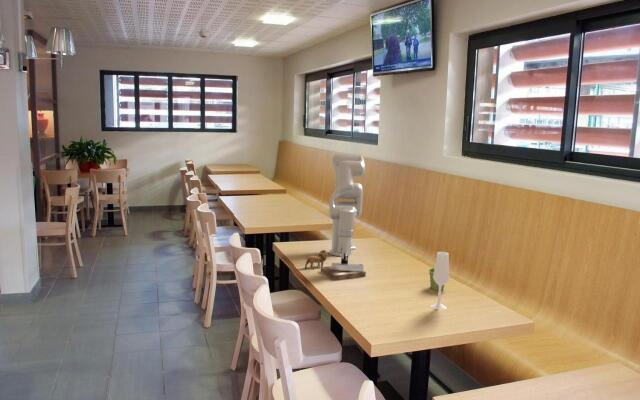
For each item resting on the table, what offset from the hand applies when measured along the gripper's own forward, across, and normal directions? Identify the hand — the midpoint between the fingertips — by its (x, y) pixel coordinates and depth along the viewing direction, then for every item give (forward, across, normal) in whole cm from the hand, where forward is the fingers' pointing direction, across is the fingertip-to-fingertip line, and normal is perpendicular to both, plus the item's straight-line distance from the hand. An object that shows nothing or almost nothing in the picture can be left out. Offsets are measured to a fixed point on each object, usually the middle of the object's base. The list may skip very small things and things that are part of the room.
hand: (344, 267), depth 262 cm
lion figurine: (+4, -4, -16) cm, 17 cm away
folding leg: (0, +3, +2) cm, 4 cm away
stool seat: (+3, +2, 0) cm, 4 cm away
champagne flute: (+2, +30, +50) cm, 59 cm away
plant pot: (+3, +4, +48) cm, 48 cm away
